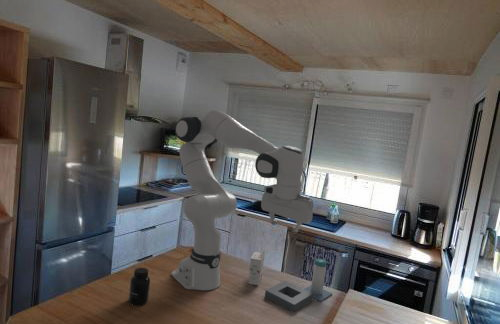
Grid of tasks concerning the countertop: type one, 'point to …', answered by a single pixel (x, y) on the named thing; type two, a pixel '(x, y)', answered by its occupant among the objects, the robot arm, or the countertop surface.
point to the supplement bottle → (139, 287)
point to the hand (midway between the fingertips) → (284, 227)
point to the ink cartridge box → (256, 268)
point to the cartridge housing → (290, 303)
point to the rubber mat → (319, 297)
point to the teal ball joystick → (318, 276)
